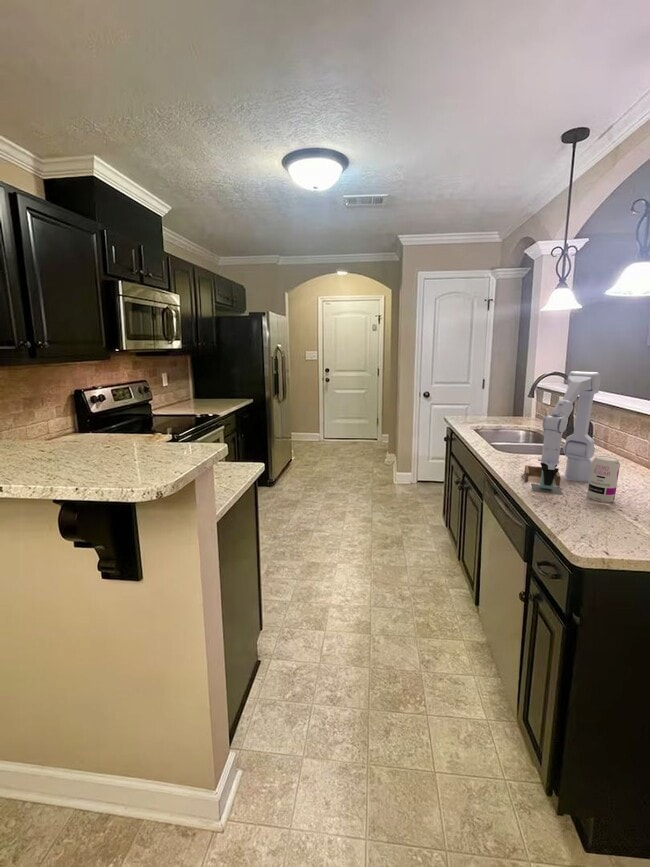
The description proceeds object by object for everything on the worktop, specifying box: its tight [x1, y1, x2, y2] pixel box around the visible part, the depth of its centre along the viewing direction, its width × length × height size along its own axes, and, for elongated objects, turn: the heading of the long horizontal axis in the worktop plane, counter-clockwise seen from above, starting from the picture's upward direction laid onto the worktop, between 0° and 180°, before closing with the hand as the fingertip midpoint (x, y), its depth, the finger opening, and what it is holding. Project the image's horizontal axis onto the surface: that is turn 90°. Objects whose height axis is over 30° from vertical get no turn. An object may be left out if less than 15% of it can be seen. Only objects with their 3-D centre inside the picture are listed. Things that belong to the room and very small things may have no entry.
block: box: [539, 470, 554, 489], centre depth 161 cm, size 4×4×6 cm
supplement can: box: [587, 455, 621, 503], centre depth 151 cm, size 8×8×15 cm
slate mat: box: [531, 483, 564, 496], centre depth 161 cm, size 10×10×1 cm
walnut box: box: [524, 465, 561, 487], centre depth 173 cm, size 12×12×4 cm
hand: (547, 483), depth 161 cm, fingers closed on block, 4 cm apart
